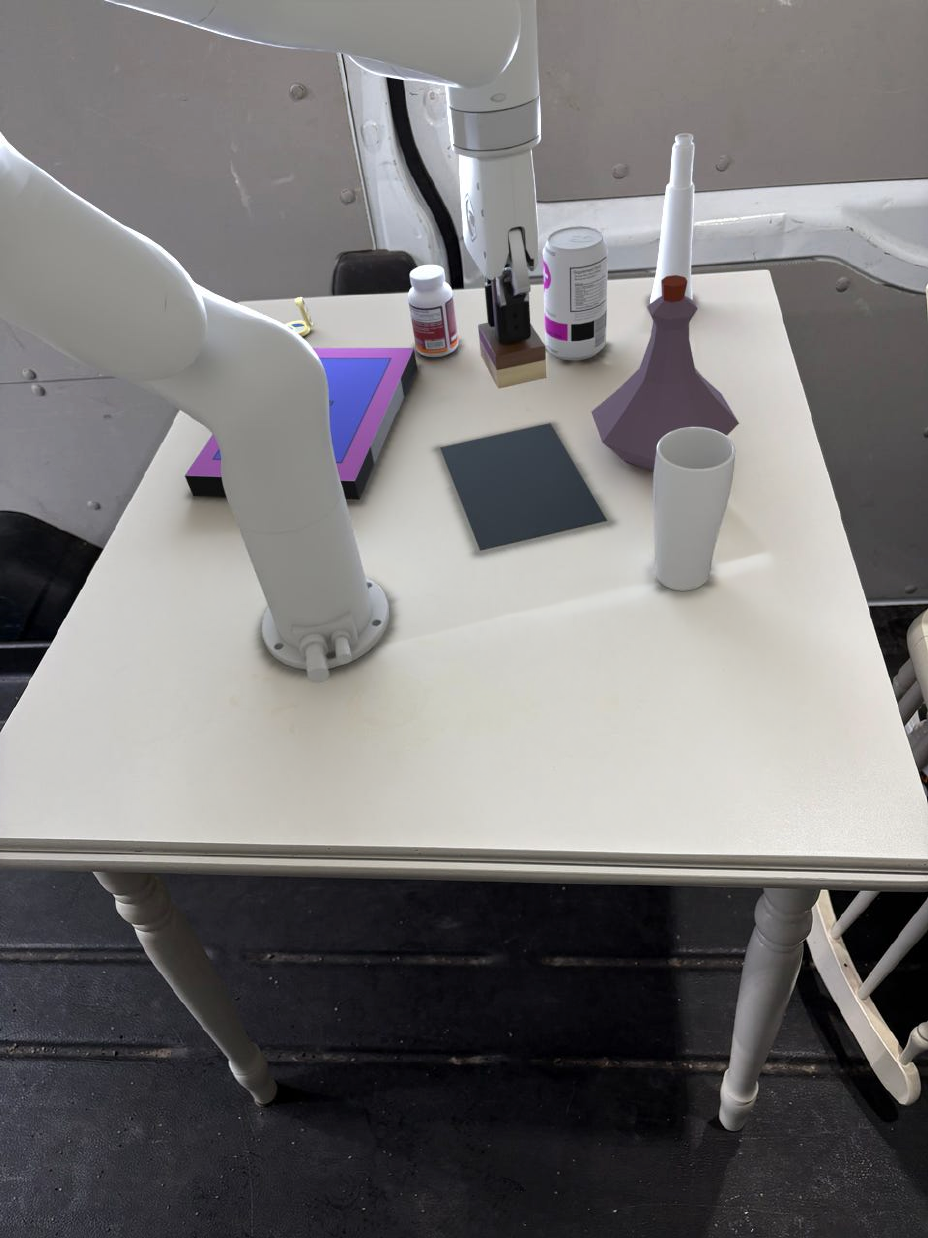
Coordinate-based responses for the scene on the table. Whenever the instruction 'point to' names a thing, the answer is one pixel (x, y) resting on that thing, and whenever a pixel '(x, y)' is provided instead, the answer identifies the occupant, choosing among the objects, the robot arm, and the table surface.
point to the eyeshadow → (301, 326)
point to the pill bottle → (432, 312)
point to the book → (340, 415)
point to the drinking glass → (689, 503)
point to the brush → (511, 353)
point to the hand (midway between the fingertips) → (509, 329)
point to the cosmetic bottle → (677, 218)
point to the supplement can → (575, 292)
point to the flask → (662, 387)
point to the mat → (519, 486)
